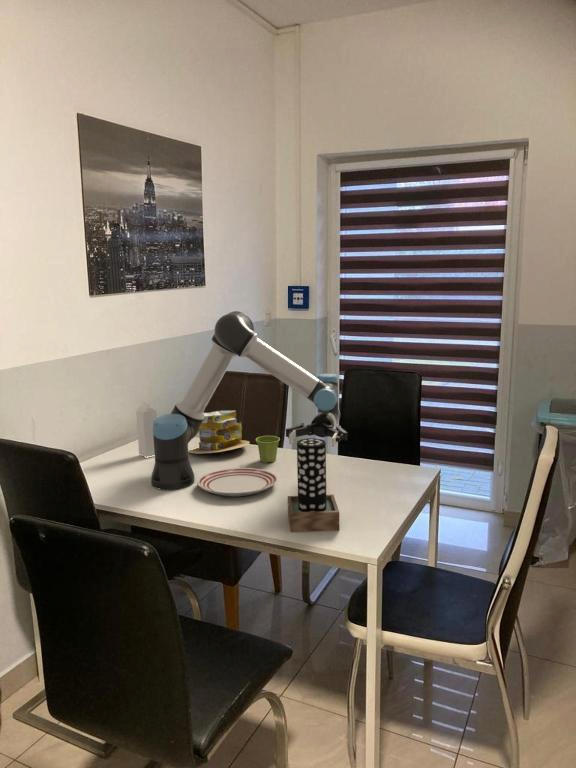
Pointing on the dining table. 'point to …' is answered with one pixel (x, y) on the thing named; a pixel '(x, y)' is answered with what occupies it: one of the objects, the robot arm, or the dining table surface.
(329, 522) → the square wooden tray
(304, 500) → the white-spotted black cylinder
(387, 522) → the dining table surface
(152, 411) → the milk
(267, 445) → the plant pot
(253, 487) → the dinner plate
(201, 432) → the plate of food packages
